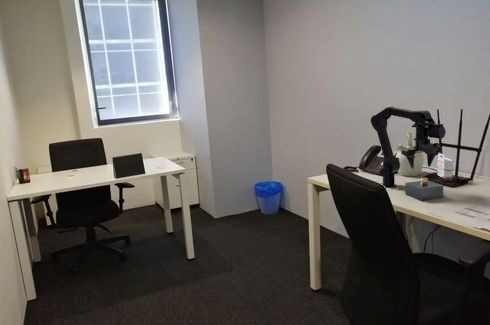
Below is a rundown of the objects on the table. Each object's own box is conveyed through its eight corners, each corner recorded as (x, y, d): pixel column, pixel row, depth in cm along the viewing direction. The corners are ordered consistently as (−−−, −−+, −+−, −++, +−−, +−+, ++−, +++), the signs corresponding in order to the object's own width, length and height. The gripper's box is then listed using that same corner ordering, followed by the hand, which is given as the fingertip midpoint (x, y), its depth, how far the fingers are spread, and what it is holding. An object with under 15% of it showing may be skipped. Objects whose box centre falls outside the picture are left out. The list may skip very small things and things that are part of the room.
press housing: (405, 194, 196) (405, 182, 194) (426, 191, 198) (426, 179, 197) (420, 201, 184) (421, 188, 183) (443, 197, 186) (443, 185, 185)
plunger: (409, 192, 194) (409, 177, 193) (425, 190, 196) (426, 175, 194) (421, 197, 186) (421, 181, 184) (438, 194, 187) (438, 179, 186)
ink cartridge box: (453, 181, 211) (454, 154, 209) (443, 182, 212) (444, 155, 209) (445, 177, 220) (446, 152, 217) (436, 178, 220) (437, 152, 217)
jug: (392, 176, 232) (392, 134, 227) (399, 170, 244) (399, 130, 239) (420, 178, 223) (421, 134, 218) (425, 172, 235) (426, 130, 230)
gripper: (414, 140, 183) (413, 173, 186) (450, 137, 186) (448, 169, 189) (401, 137, 194) (400, 168, 197) (434, 134, 197) (433, 164, 200)
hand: (420, 167), depth 196 cm, fingers open, 9 cm apart
